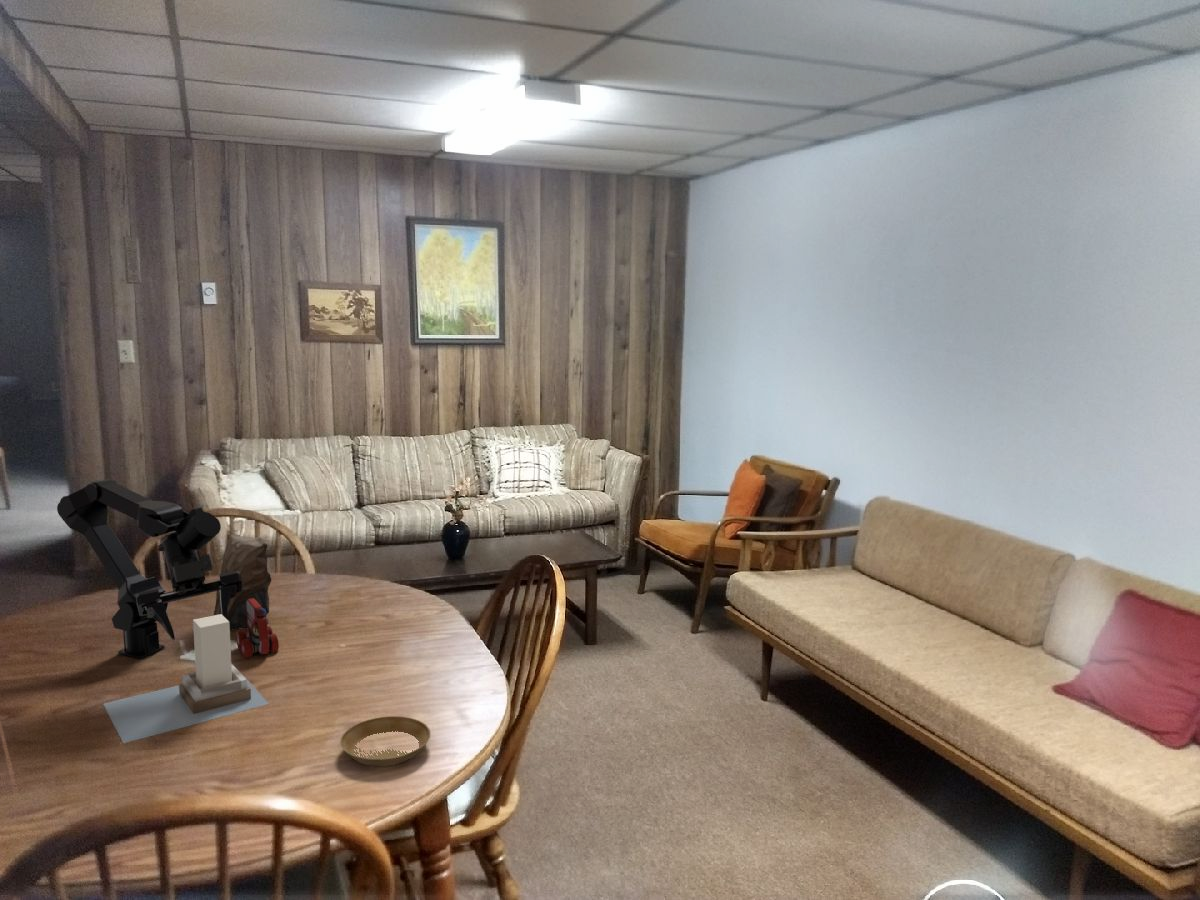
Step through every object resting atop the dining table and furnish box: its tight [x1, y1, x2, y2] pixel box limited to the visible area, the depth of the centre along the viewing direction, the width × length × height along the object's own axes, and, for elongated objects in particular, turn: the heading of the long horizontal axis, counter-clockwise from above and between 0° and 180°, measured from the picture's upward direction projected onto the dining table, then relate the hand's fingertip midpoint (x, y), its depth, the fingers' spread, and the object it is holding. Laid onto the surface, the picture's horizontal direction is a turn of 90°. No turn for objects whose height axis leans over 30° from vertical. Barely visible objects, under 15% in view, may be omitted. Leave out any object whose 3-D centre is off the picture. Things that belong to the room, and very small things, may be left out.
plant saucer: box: [340, 715, 431, 767], centre depth 141 cm, size 15×15×3 cm
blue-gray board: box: [103, 670, 270, 745], centre depth 154 cm, size 18×24×1 cm
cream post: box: [192, 614, 232, 689], centre depth 156 cm, size 5×5×13 cm
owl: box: [213, 533, 272, 631], centre depth 195 cm, size 13×13×20 cm
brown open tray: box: [178, 663, 251, 714], centre depth 157 cm, size 10×10×4 cm
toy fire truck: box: [235, 598, 280, 659], centre depth 179 cm, size 7×12×10 cm, turn 35°
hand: (199, 632), depth 162 cm, fingers open, 9 cm apart
